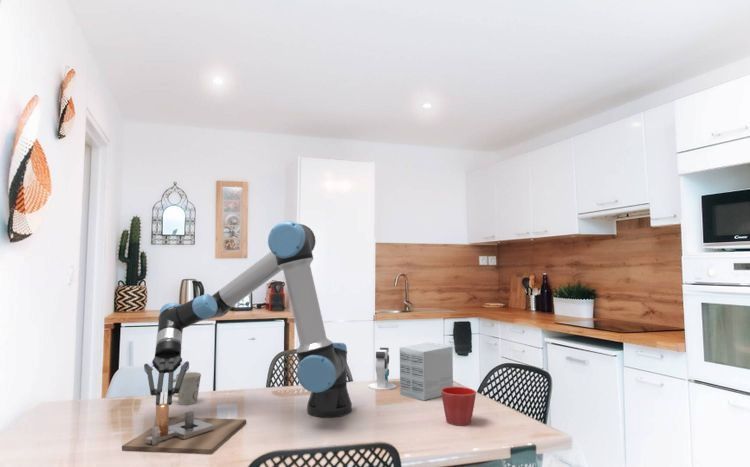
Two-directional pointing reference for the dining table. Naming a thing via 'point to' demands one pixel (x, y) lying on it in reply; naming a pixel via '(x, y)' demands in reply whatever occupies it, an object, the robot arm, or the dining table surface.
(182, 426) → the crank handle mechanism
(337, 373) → the robot arm
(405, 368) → the gray vented cabinet
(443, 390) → the flower pot
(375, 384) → the white grey upright piece
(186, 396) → the mug
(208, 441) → the post board
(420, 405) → the dining table surface
